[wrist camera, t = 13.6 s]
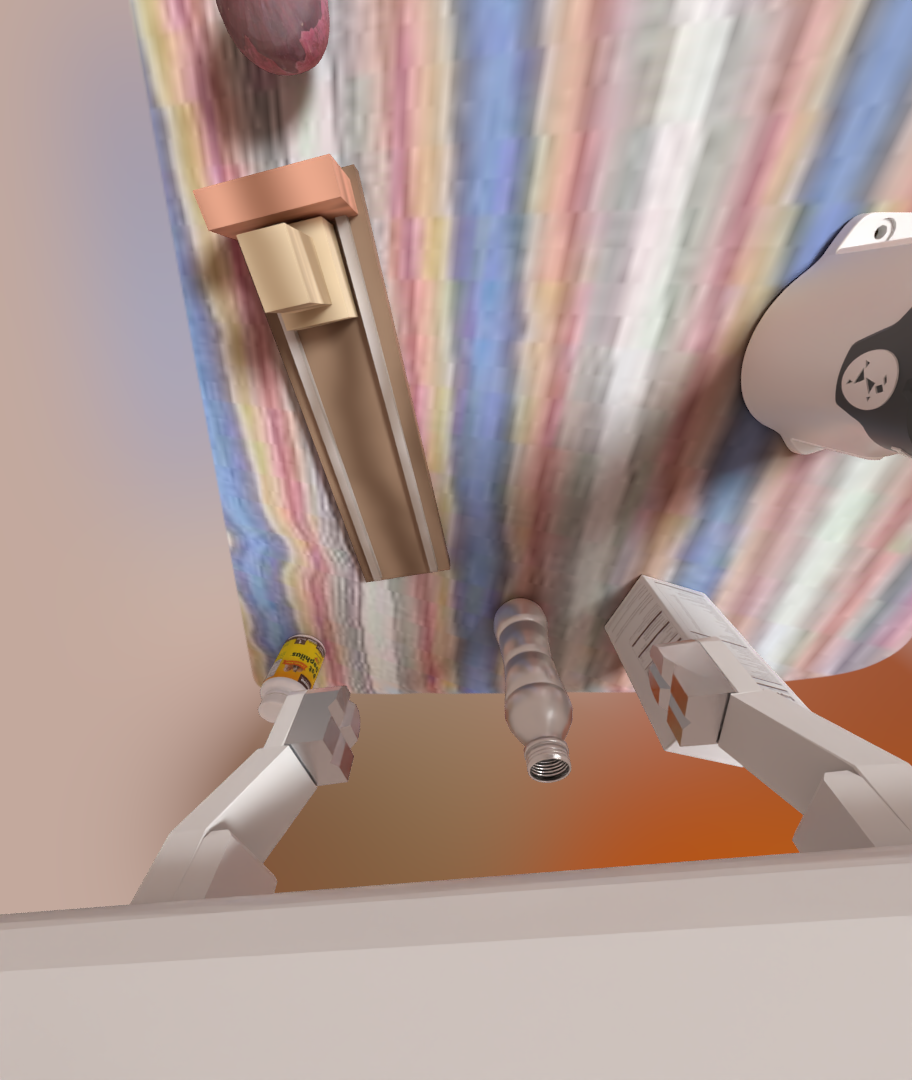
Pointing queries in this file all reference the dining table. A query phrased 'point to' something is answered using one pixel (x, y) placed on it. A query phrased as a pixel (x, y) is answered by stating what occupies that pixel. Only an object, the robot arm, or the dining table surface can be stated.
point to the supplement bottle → (290, 673)
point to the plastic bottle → (533, 690)
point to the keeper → (299, 273)
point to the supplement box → (675, 617)
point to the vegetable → (278, 32)
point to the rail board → (347, 370)
